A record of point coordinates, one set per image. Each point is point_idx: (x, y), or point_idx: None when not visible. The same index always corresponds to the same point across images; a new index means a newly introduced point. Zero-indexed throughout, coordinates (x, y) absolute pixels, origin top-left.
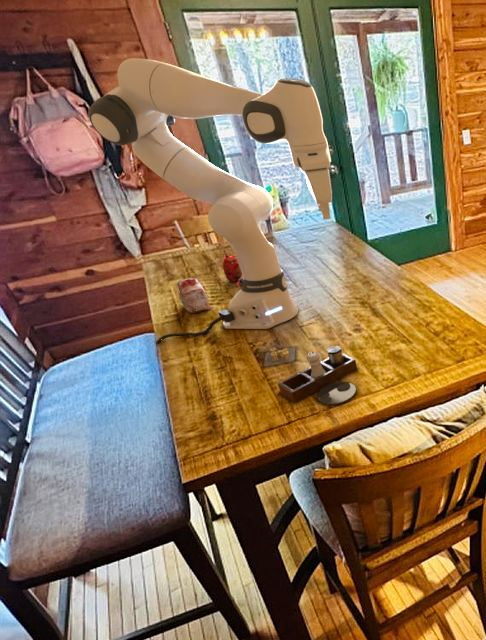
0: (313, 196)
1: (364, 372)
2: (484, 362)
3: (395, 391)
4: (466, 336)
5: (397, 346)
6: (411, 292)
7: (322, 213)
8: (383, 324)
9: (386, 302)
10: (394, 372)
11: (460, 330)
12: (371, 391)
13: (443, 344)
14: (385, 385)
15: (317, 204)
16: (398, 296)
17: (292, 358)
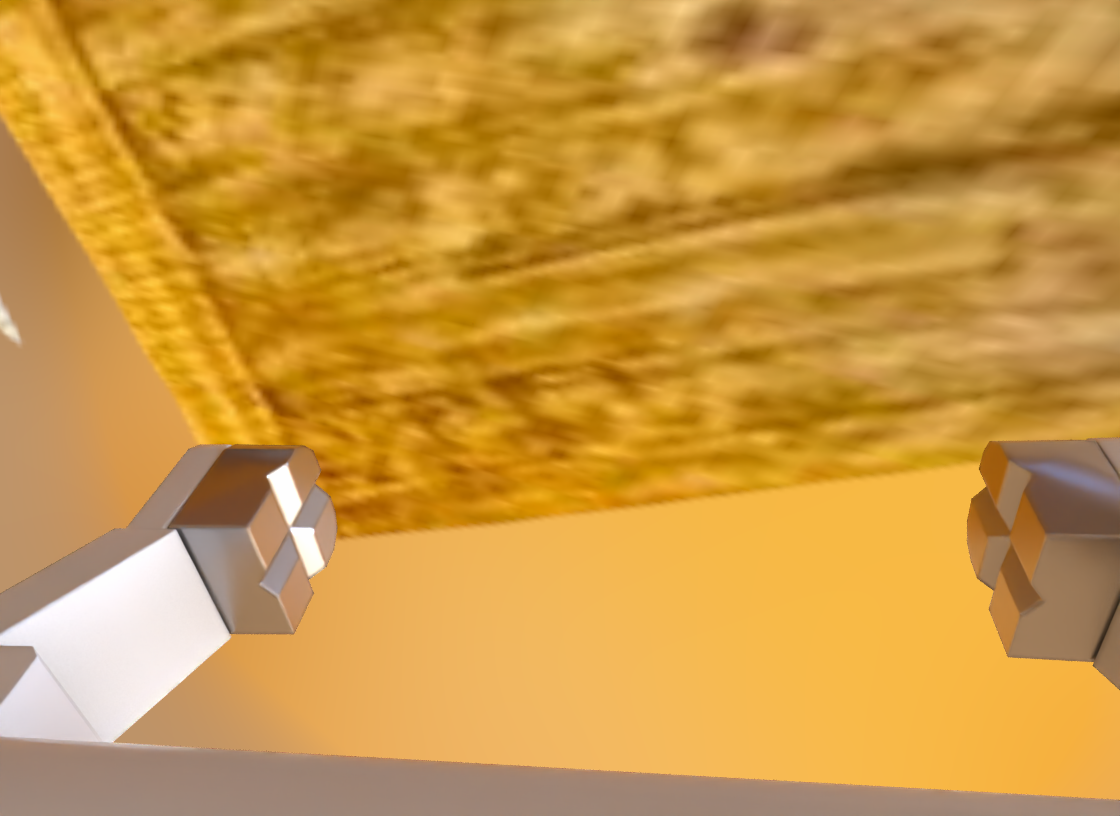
0: (90, 805)
1: (245, 14)
2: None
3: (79, 132)
4: (449, 469)
5: (455, 211)
6: (1044, 398)
7: (136, 519)
8: (726, 188)
9: (1012, 253)
10: (226, 155)
11: (506, 466)
12: (81, 27)
13: (412, 384)
14: (126, 98)
15: (1050, 535)
16: (1045, 329)
17: None
